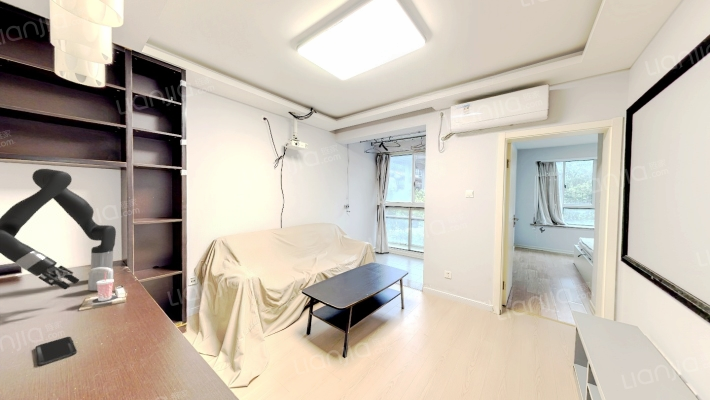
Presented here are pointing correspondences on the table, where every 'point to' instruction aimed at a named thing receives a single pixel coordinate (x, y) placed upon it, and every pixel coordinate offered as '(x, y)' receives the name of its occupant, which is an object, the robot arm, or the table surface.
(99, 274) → the photo printer
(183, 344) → the table surface
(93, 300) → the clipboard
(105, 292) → the beverage cup
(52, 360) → the phone
